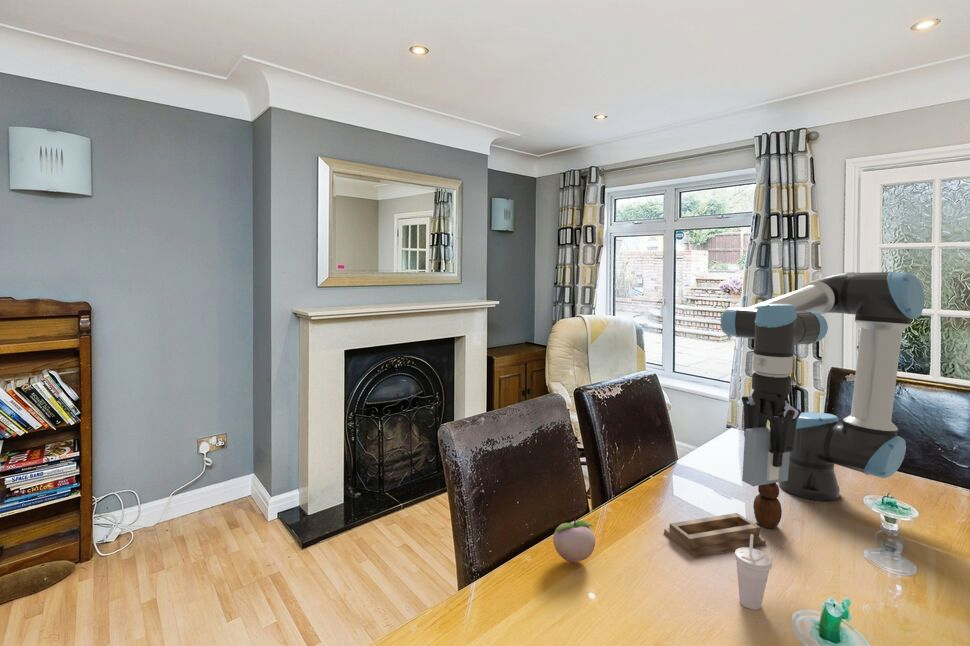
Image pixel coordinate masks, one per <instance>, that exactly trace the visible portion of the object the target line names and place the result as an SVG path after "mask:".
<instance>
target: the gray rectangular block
mask: <svg viewBox="0 0 970 646" xmlns="http://www.w3.org/2000/svg"><path fill="white" fill-rule="evenodd" d="M743 443H744V445H743V459H742V460H743V461H742V477H741V479H742V480H741V481H742V482H744V483H745V484H748V485H750V486H751V487H758V486H759V485H764V484H770V483H776V484H777V483H779V482H783V481H788V470H789V456H790V452H785V453H783V459H782V466H781V467H779V479H777V480H771V481H768V480H766V479H767V463H768V451H769V450H772V449H771V434H770V425H769V426H768V425H766V427H759V428H750V429H745V437H744V441H743Z"/></svg>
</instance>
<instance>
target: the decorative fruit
mask: <svg viewBox="0 0 970 646" xmlns="http://www.w3.org/2000/svg"><path fill="white" fill-rule="evenodd" d="M590 527H592V528H593V527H594V526H593V524H592V523H591V522H589V521H587V520H577V519H576V518H574V520H573V521H570V522H564V523H561V524H559V526H557V527H556V528H555V530H554V532H553V536H552V541H553V546H554V549H555V551H556V552H557V554H558V555H559V556H560V557H561V558H562V559H563V560H565V561H567V562H570V563H578V562H581V561H585V560H587V559H588V558H590V557H591V555H592V554H593V552H594V550H595V546H596V538H595V534H594V532H593V530H592V529H591V528H590Z"/></svg>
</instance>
